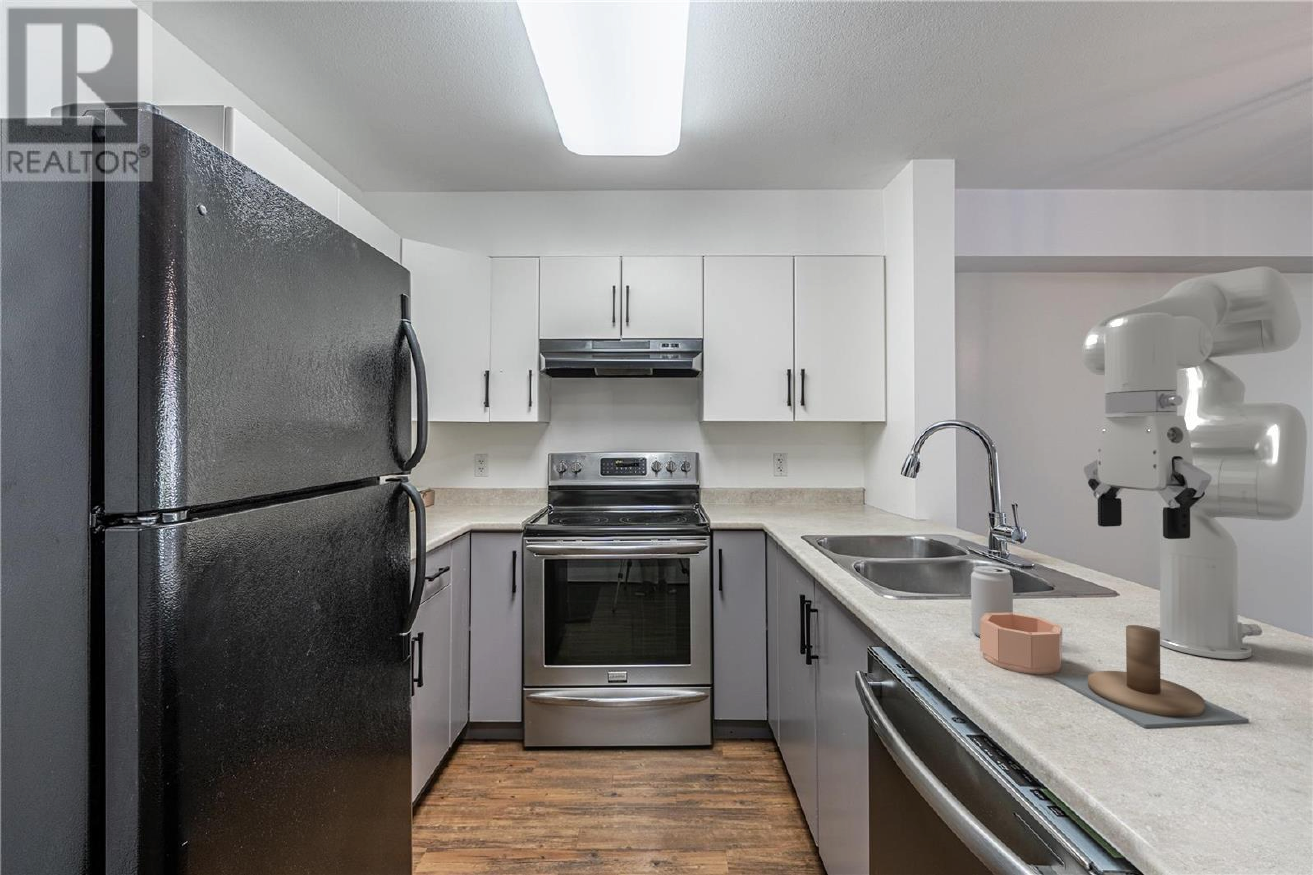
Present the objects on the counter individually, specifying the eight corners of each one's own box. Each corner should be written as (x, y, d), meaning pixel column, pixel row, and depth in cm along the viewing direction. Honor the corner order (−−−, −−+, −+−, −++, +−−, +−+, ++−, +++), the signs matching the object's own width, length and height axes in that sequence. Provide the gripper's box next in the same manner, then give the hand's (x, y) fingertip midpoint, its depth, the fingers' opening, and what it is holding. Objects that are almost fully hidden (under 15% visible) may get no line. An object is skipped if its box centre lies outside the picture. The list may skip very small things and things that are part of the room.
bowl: (1027, 647, 96) (1027, 611, 96) (1078, 673, 86) (1078, 633, 86) (968, 649, 96) (968, 613, 96) (1012, 676, 85) (1012, 635, 85)
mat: (1143, 675, 85) (1143, 673, 85) (1248, 722, 71) (1248, 719, 71) (1054, 679, 84) (1054, 676, 84) (1144, 727, 70) (1144, 724, 70)
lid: (1142, 675, 84) (1141, 614, 84) (1232, 714, 72) (1231, 643, 72) (1066, 679, 83) (1065, 617, 83) (1144, 719, 71) (1143, 646, 71)
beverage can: (1019, 644, 98) (1019, 573, 98) (978, 641, 99) (978, 572, 99) (1004, 631, 104) (1004, 565, 104) (966, 629, 106) (966, 564, 106)
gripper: (1234, 402, 70) (1235, 543, 70) (1109, 408, 87) (1110, 521, 87) (1178, 403, 69) (1179, 545, 69) (1063, 409, 86) (1064, 522, 86)
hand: (1141, 531), depth 78 cm, fingers open, 9 cm apart
